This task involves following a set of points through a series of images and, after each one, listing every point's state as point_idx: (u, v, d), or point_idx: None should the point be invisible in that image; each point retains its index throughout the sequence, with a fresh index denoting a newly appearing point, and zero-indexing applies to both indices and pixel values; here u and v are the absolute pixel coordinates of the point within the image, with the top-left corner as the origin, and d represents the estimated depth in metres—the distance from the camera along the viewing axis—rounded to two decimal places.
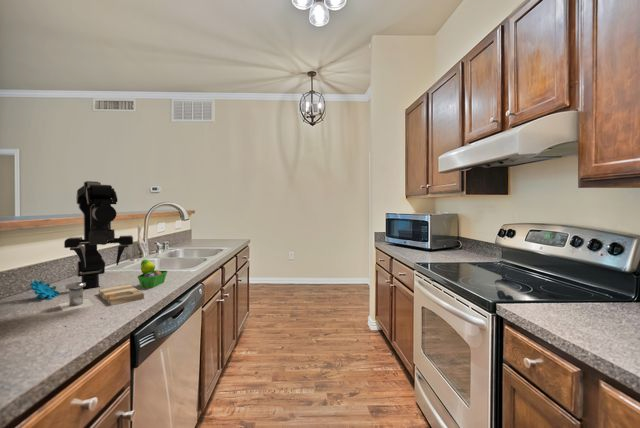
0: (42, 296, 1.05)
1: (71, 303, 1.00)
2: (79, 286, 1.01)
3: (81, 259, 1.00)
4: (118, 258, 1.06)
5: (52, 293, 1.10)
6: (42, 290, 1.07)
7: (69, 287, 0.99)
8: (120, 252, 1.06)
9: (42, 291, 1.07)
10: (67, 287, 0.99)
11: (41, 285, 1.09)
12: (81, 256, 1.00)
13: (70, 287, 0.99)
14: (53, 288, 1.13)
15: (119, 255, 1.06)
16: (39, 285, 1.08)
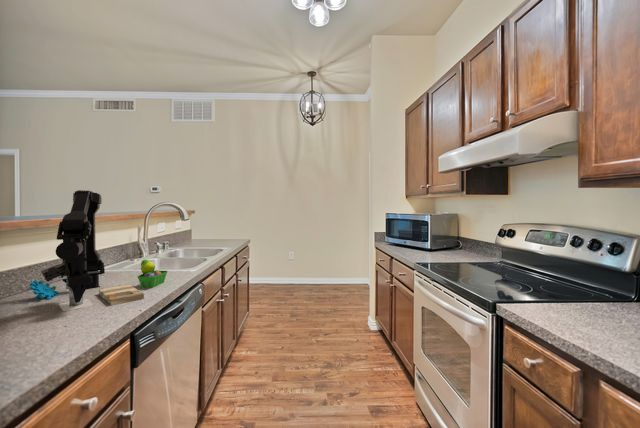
0: (41, 296, 1.05)
1: (71, 303, 1.00)
2: None
3: None
4: None
5: (51, 293, 1.10)
6: (41, 290, 1.07)
7: (69, 287, 0.99)
8: (72, 290, 0.99)
9: (41, 291, 1.07)
10: (67, 287, 0.99)
11: (41, 285, 1.09)
12: None
13: None
14: (53, 288, 1.13)
15: (73, 293, 0.99)
16: (38, 285, 1.08)
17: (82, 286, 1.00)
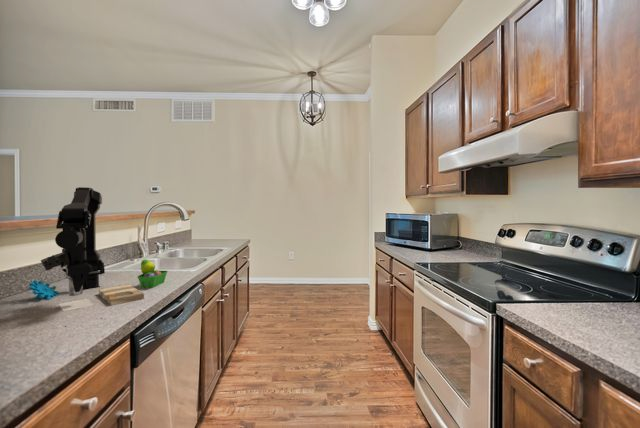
0: (40, 296, 1.05)
1: (71, 293, 1.00)
2: None
3: None
4: (73, 285, 0.99)
5: (51, 293, 1.10)
6: (41, 290, 1.07)
7: (69, 277, 0.99)
8: (72, 279, 0.98)
9: (41, 291, 1.07)
10: (67, 277, 0.99)
11: (40, 285, 1.09)
12: None
13: (70, 277, 0.99)
14: (53, 288, 1.13)
15: None
16: (38, 285, 1.08)
17: (82, 275, 1.00)
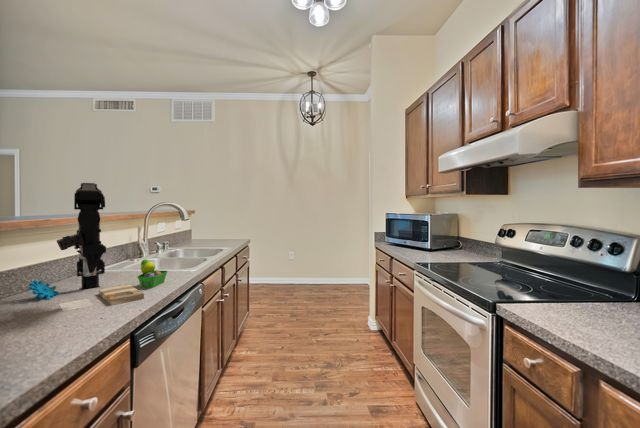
0: (40, 296, 1.05)
1: (85, 273, 1.02)
2: None
3: None
4: None
5: (51, 293, 1.10)
6: (41, 290, 1.07)
7: (83, 257, 1.01)
8: (86, 260, 1.00)
9: (40, 291, 1.07)
10: (81, 257, 1.01)
11: (40, 285, 1.09)
12: None
13: (84, 257, 1.01)
14: (52, 288, 1.13)
15: (87, 263, 1.00)
16: (38, 285, 1.08)
17: (96, 256, 1.02)
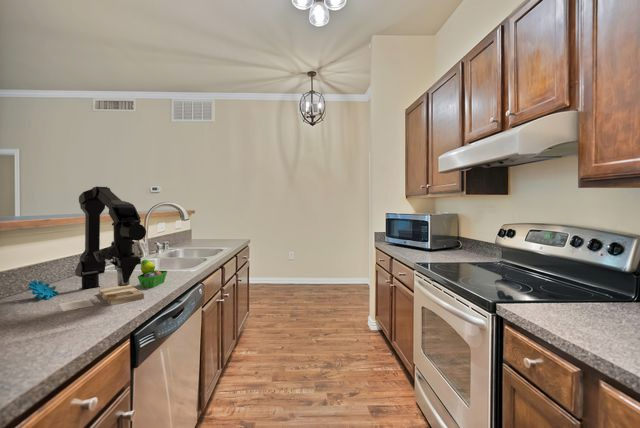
0: (39, 296, 1.05)
1: (120, 283, 1.07)
2: None
3: None
4: (122, 276, 1.06)
5: (50, 293, 1.10)
6: (40, 290, 1.07)
7: (118, 268, 1.06)
8: (121, 271, 1.05)
9: (40, 291, 1.07)
10: (116, 268, 1.06)
11: (40, 285, 1.09)
12: None
13: (119, 268, 1.06)
14: (52, 288, 1.13)
15: (122, 274, 1.06)
16: (38, 285, 1.08)
17: (130, 267, 1.07)
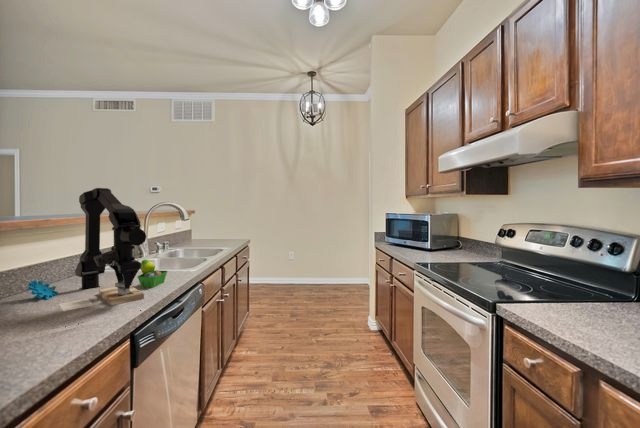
0: (39, 296, 1.05)
1: None
2: None
3: (116, 276, 1.11)
4: (124, 282, 1.05)
5: (50, 293, 1.10)
6: (40, 290, 1.07)
7: (118, 285, 1.06)
8: (123, 276, 1.04)
9: (40, 291, 1.07)
10: (116, 285, 1.06)
11: (40, 285, 1.09)
12: (115, 273, 1.11)
13: (119, 285, 1.06)
14: (52, 288, 1.13)
15: (123, 279, 1.04)
16: (37, 285, 1.08)
17: (132, 273, 1.05)
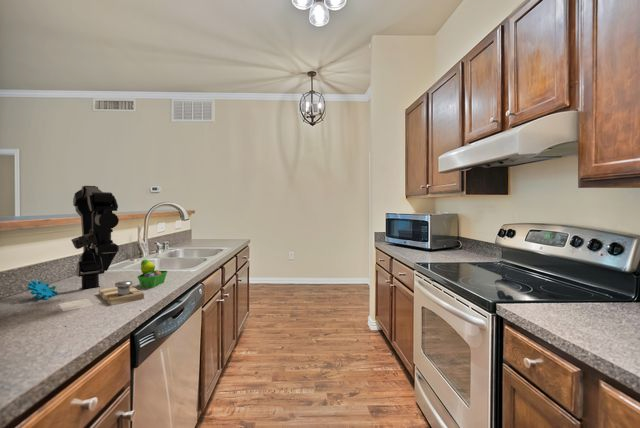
0: (38, 296, 1.05)
1: None
2: (127, 285, 1.07)
3: (94, 258, 1.13)
4: (102, 264, 1.07)
5: (50, 293, 1.10)
6: (39, 290, 1.07)
7: (118, 285, 1.06)
8: (101, 259, 1.06)
9: (39, 291, 1.07)
10: (116, 285, 1.06)
11: (39, 285, 1.09)
12: (94, 256, 1.13)
13: (119, 285, 1.06)
14: (52, 288, 1.13)
15: (101, 262, 1.06)
16: (37, 285, 1.09)
17: (110, 256, 1.07)
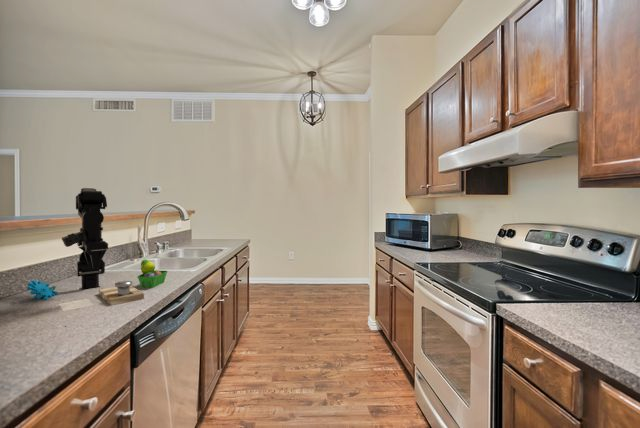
0: (37, 296, 1.05)
1: None
2: (127, 285, 1.07)
3: (85, 257, 1.14)
4: (92, 262, 1.07)
5: (49, 293, 1.10)
6: (39, 290, 1.07)
7: (118, 285, 1.06)
8: (91, 256, 1.07)
9: (38, 291, 1.07)
10: (116, 285, 1.06)
11: (39, 285, 1.09)
12: (85, 254, 1.14)
13: (119, 285, 1.06)
14: (52, 288, 1.13)
15: (91, 259, 1.07)
16: (37, 285, 1.09)
17: (100, 253, 1.08)
